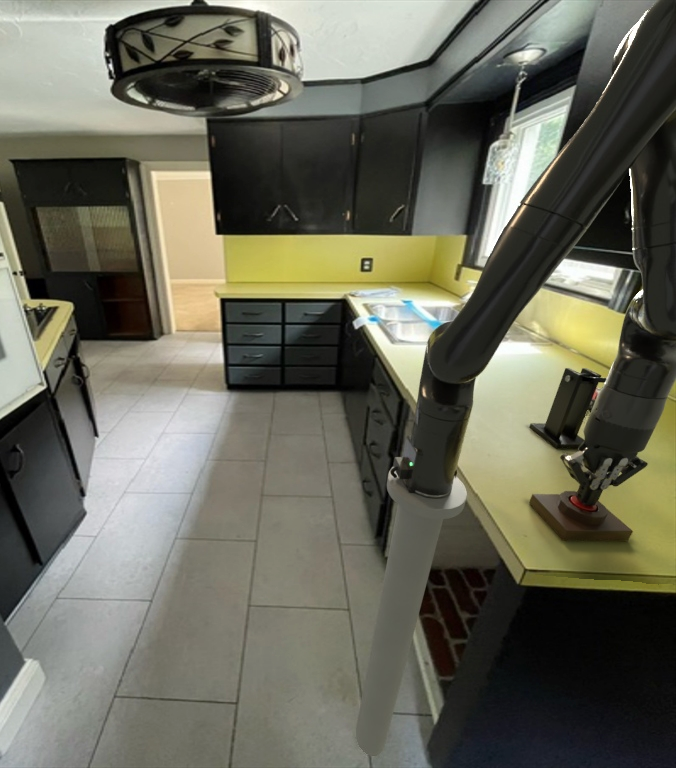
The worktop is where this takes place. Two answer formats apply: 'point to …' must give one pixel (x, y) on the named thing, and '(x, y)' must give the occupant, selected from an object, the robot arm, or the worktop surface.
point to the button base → (579, 519)
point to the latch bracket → (568, 410)
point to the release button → (581, 506)
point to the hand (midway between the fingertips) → (584, 502)
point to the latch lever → (591, 379)
